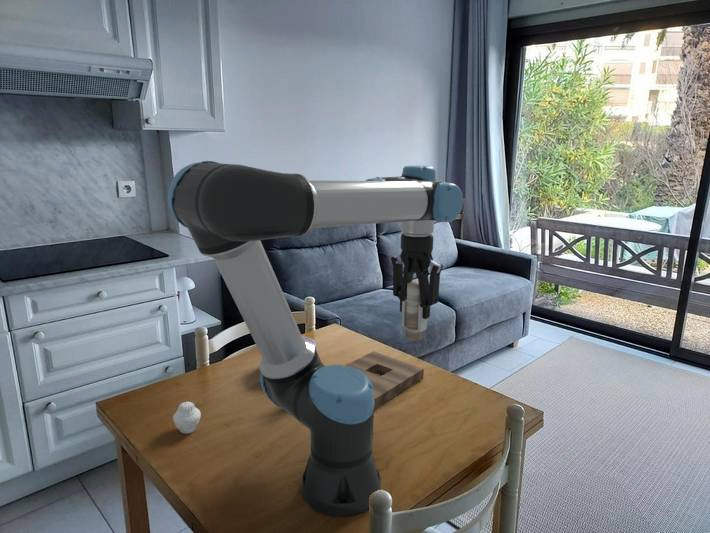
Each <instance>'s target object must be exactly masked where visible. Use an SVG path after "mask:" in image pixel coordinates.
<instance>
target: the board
mask: <svg viewBox="0 0 710 533" xmlns="http://www.w3.org/2000/svg"><path fill="white" fill-rule="evenodd" d="M347 366H350V367H353V368H355V369H358V370H359V371H361V372H363V373H364V374H365V375H366V376H367V377H368V378H369V380H370V381H371V383H372V386H373V397H374V401H375V404H374V411H375V410H376V409H378V408H379V407H381V406H382V405H384V404H386V403H387V402H389V401H390V400H393V399H394V398H396V397H397V396H398V395H400V394H402V393H403V392H405V391H406V390H407V389H409V388H410V387H413V385H415V384H417V383H419V381H421V380H423V379H424V374H425V372H424V371H425V370H424V367H421V366H417V365H415V364H411V363H410V362H409V363H408V362H406V361H402V360H399V359H397V358H394V357H391V356H388V355H385V354H382V353H381V352H380V353H379V352H377V351H370V352H369V353H367V354H365V355H364V356H362V357H360V358H357V359H355V360H352V361H351V362H348V363H346V364H345V365H343V367H347Z"/></svg>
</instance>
